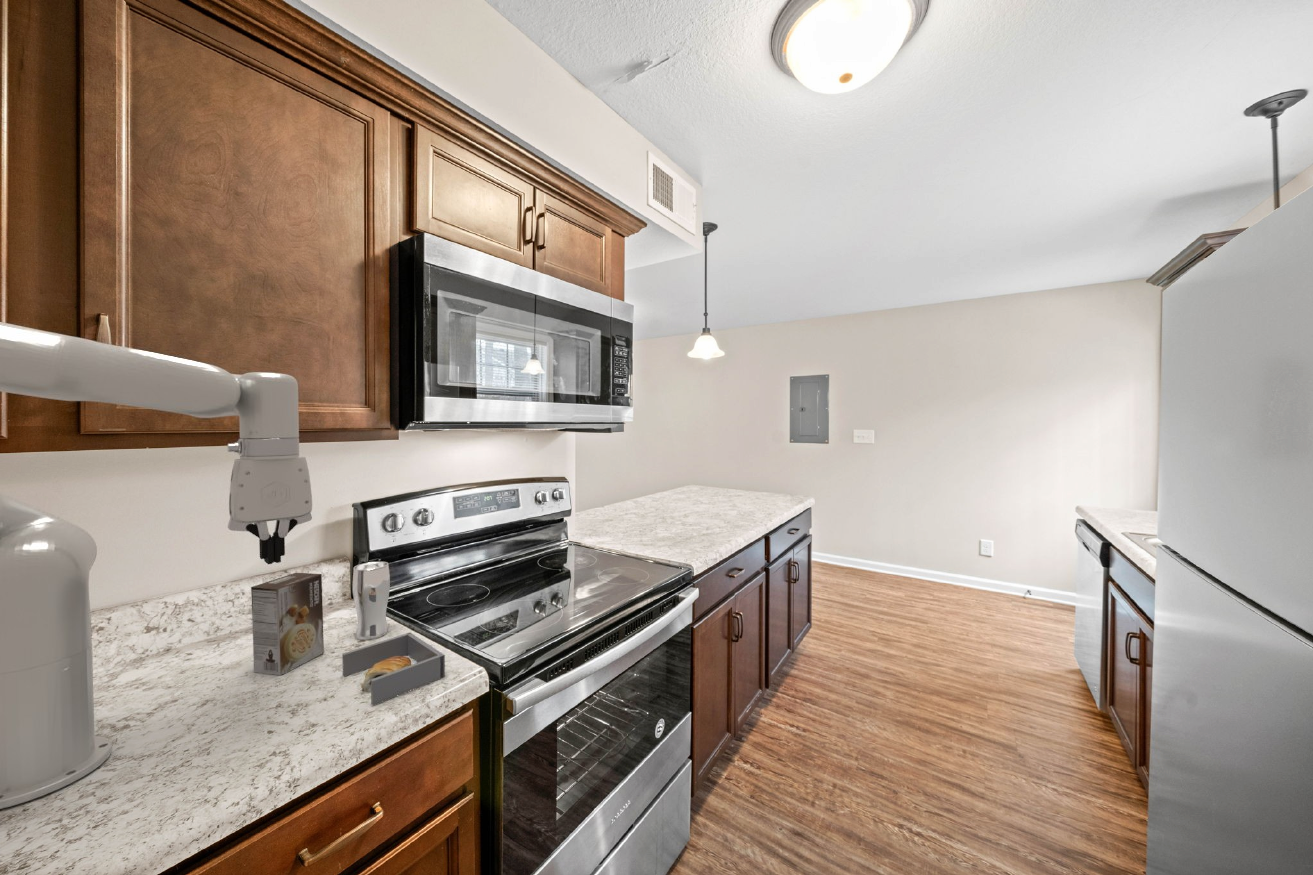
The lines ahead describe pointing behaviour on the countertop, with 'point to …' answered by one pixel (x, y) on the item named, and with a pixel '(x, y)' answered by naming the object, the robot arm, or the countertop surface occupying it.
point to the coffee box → (287, 622)
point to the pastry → (384, 669)
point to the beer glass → (371, 599)
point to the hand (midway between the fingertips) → (272, 561)
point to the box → (402, 679)
